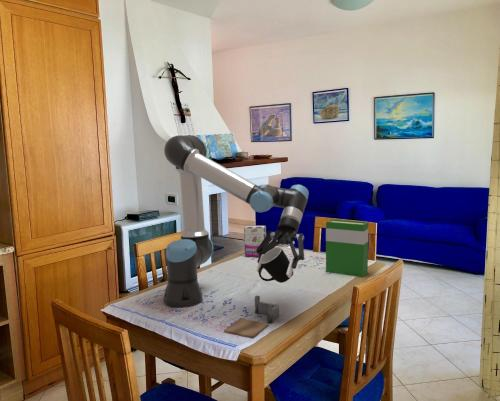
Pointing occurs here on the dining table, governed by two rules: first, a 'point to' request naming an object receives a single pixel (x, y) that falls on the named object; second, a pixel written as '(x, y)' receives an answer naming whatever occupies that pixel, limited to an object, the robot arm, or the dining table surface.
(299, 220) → the robot arm
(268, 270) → the mug
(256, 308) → the grey l-shaped bracket
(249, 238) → the candy bar box
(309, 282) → the dining table surface
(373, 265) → the dining table surface
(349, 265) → the hardback book
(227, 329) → the coaster
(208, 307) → the dining table surface
